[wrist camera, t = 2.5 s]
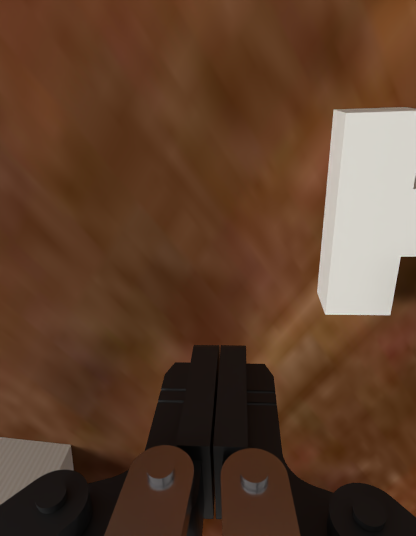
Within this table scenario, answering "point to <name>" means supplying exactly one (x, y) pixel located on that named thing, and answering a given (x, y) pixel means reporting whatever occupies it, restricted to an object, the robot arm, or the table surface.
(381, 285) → the t block
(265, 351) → the table surface
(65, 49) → the table surface
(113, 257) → the table surface
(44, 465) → the beige open box
